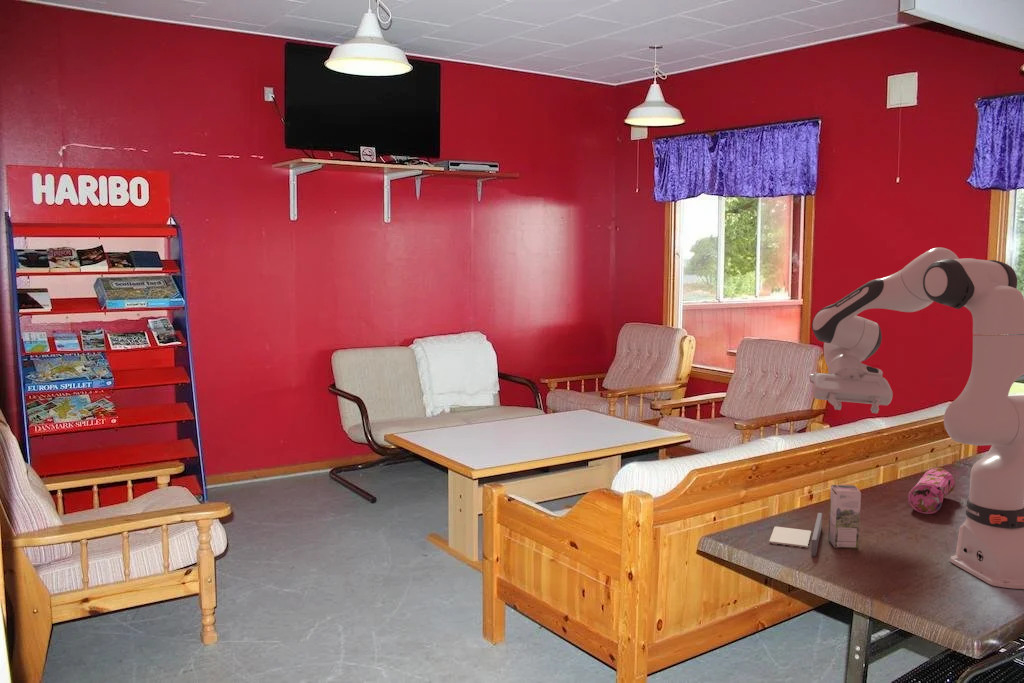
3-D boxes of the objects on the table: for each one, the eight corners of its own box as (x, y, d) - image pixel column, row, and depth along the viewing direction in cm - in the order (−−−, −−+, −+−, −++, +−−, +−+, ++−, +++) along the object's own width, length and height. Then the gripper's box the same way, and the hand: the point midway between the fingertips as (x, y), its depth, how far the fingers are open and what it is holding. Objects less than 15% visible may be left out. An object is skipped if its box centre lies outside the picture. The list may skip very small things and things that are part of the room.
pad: (811, 533, 221) (811, 530, 221) (807, 548, 210) (807, 545, 210) (774, 528, 224) (774, 526, 224) (769, 543, 213) (769, 541, 213)
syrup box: (851, 541, 215) (854, 484, 213) (858, 549, 209) (861, 490, 207) (828, 540, 215) (830, 483, 214) (834, 548, 209) (836, 490, 208)
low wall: (821, 528, 224) (822, 513, 224) (815, 556, 204) (816, 540, 204) (817, 527, 225) (818, 512, 224) (811, 555, 205) (811, 539, 204)
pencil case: (943, 518, 233) (945, 486, 232) (906, 512, 238) (907, 480, 237) (955, 498, 250) (957, 468, 249) (920, 493, 255) (922, 464, 254)
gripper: (810, 363, 237) (819, 396, 226) (887, 370, 235) (900, 404, 224) (805, 381, 240) (813, 414, 229) (881, 388, 239) (893, 422, 228)
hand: (856, 409), depth 227 cm, fingers open, 8 cm apart
